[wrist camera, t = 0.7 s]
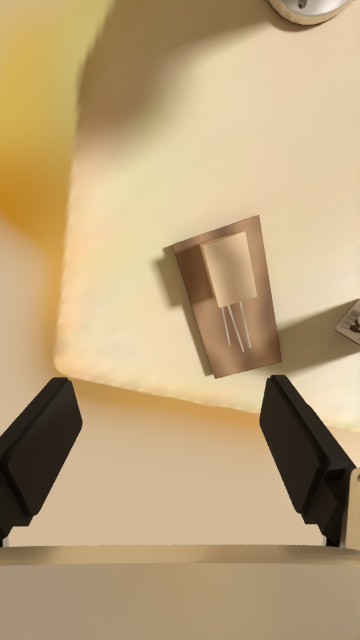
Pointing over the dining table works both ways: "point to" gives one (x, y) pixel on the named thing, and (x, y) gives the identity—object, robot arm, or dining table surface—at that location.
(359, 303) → the coffee box
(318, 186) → the dining table surface
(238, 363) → the board
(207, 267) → the block
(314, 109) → the dining table surface
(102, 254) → the dining table surface
